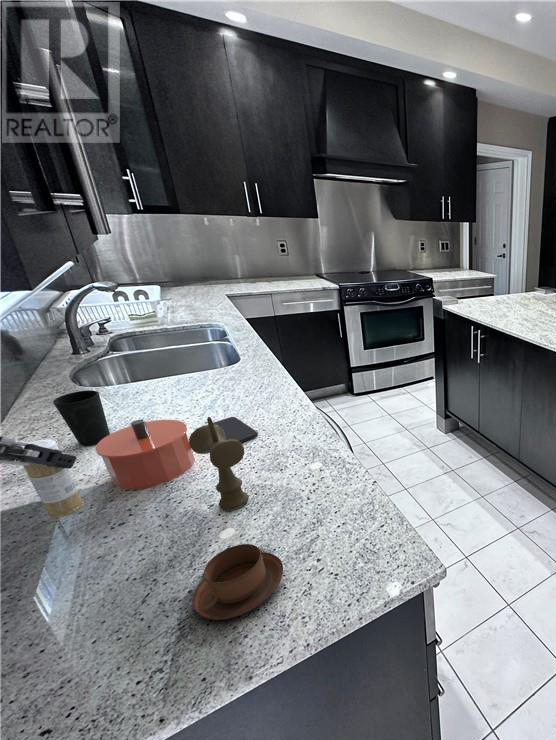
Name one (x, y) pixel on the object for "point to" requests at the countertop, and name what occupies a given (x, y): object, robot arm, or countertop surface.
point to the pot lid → (141, 438)
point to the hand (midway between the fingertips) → (58, 461)
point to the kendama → (221, 462)
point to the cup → (84, 416)
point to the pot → (151, 466)
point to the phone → (236, 429)
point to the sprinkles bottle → (54, 485)
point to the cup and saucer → (236, 582)
